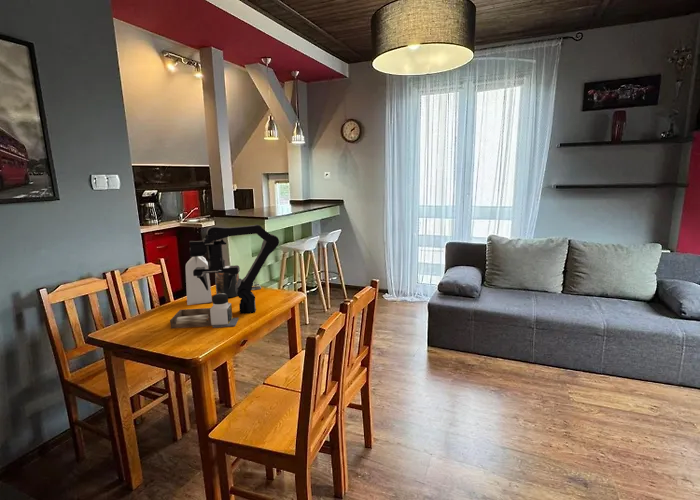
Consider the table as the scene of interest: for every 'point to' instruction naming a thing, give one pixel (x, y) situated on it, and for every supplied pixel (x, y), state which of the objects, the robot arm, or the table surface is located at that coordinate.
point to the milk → (197, 282)
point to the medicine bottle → (221, 310)
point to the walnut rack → (191, 313)
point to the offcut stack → (192, 319)
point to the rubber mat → (231, 324)
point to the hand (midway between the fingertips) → (218, 289)
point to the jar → (226, 283)
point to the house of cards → (256, 287)
